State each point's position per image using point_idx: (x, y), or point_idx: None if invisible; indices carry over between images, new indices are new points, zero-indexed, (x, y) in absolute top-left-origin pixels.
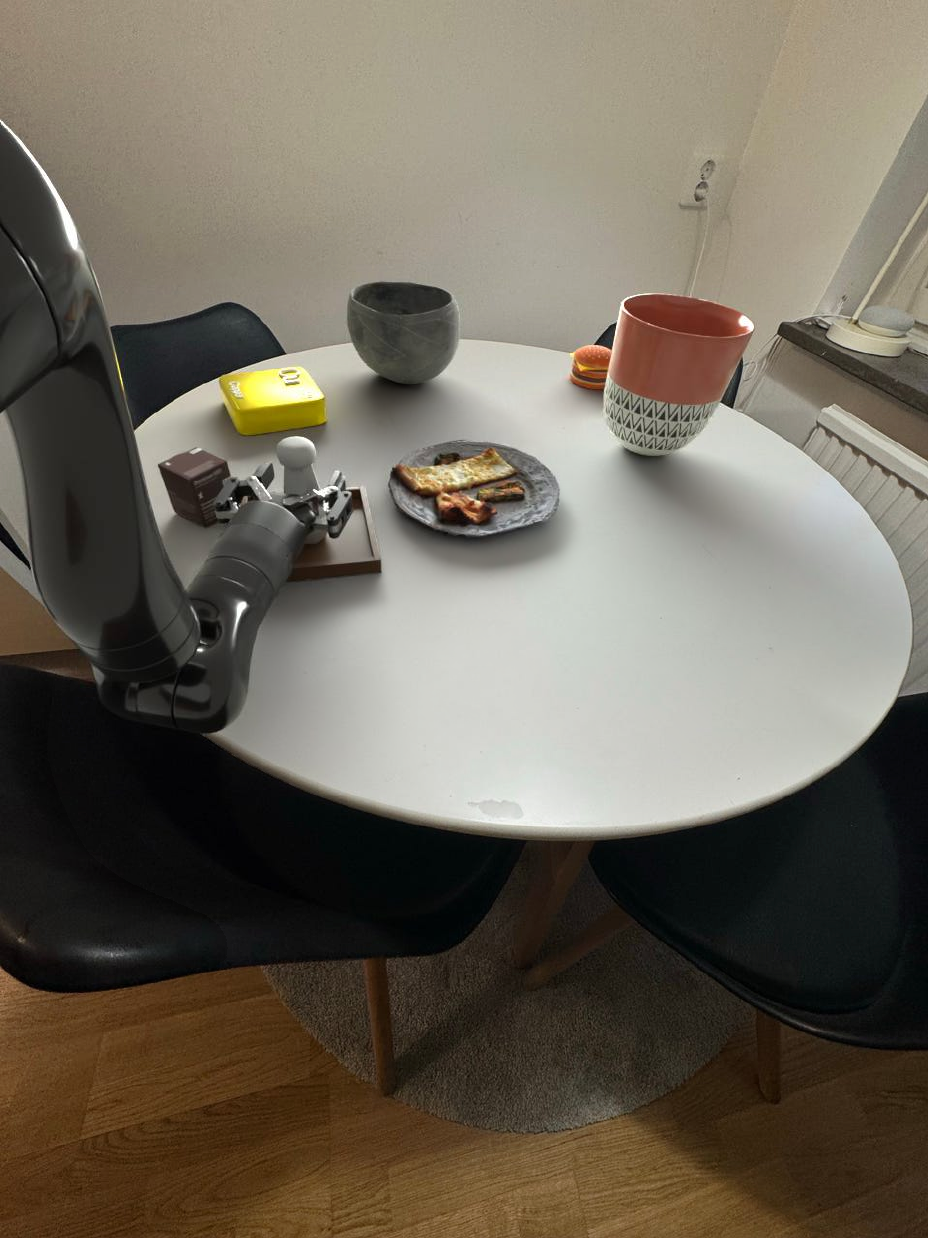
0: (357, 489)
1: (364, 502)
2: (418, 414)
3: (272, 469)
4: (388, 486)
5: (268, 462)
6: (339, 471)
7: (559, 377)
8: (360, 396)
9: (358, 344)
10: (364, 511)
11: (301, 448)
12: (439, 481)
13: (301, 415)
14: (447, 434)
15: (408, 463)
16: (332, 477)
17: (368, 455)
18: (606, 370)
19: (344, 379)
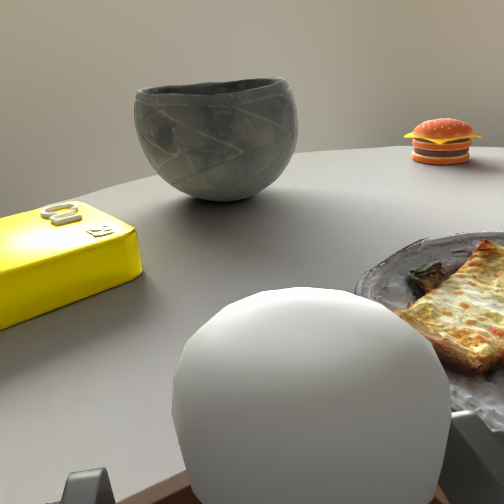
0: None
1: None
2: (283, 229)
3: (109, 500)
4: None
5: (86, 476)
6: (468, 413)
7: (403, 162)
8: (178, 226)
9: (163, 153)
10: (439, 501)
11: (404, 367)
12: (476, 327)
13: (98, 268)
14: (356, 244)
15: None
16: (496, 471)
17: None
18: (466, 139)
19: (141, 213)
